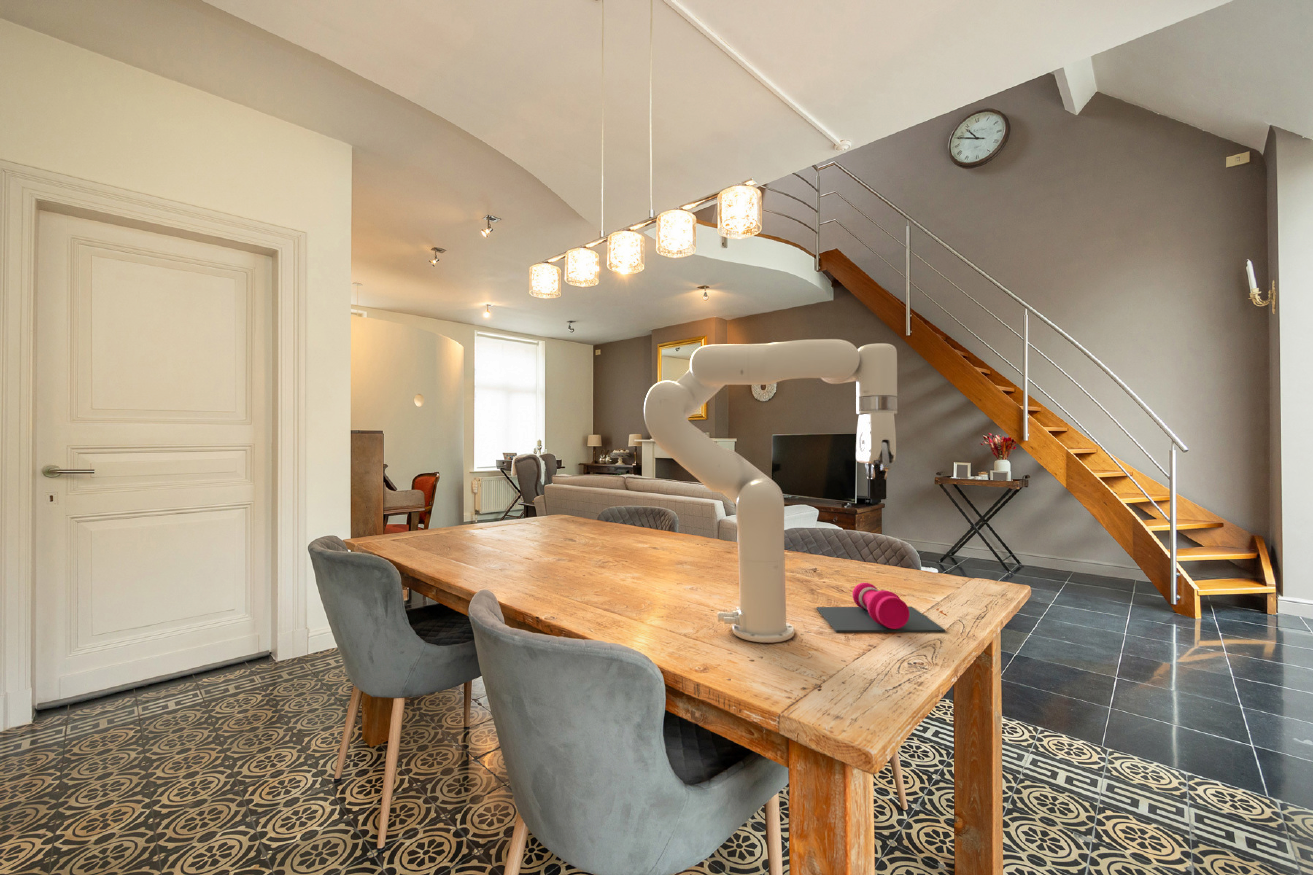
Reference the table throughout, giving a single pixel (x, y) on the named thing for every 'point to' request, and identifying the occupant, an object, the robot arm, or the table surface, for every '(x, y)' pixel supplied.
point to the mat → (862, 622)
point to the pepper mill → (881, 605)
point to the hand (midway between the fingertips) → (876, 498)
